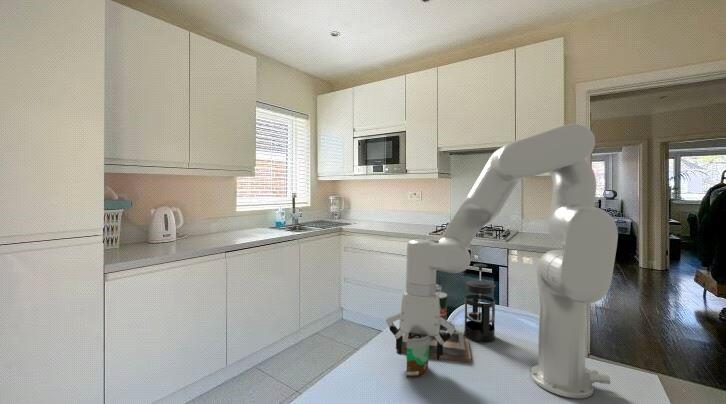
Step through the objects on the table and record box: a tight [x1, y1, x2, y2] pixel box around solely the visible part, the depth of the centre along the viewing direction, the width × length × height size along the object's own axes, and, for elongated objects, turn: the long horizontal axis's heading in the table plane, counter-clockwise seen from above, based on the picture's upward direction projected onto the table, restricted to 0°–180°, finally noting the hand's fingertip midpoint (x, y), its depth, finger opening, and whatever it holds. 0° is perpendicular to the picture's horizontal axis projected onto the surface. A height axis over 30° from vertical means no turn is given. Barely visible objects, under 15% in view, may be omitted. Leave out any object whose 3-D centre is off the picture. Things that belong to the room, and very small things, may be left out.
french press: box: [463, 263, 496, 344], centre depth 99 cm, size 12×9×23 cm
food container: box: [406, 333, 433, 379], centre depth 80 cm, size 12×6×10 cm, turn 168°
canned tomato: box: [436, 291, 448, 331], centre depth 108 cm, size 8×8×11 cm
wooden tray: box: [396, 330, 472, 363], centre depth 92 cm, size 20×12×3 cm, turn 76°
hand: (418, 354), depth 80 cm, fingers open, 9 cm apart
